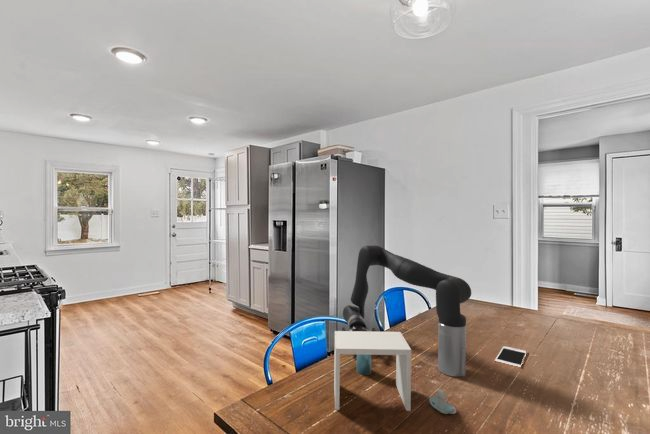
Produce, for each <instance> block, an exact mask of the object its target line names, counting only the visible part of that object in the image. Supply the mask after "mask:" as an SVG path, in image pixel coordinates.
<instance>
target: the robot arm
mask: <svg viewBox="0 0 650 434" xmlns="http://www.w3.org/2000/svg"><path fill="white" fill-rule="evenodd" d="M371 266H380V267H384V268H385V269H386V268H387V269H388V270H390V271H391V272H392V274H393V275H394V276H395V278H397V279H399V280H401V281H403V282H405V283H407V284H409V285H413V286H415V287H422V288H427V289H431V290H434V291H435V306H436V311H435V312H436V315H437V318H438V334H437V335H438V339H437V340H438V343H437V344H438V345H437V347H438V348H437V349H438V350H437V353H438V354H437V369H438V371H439V372H440V373H442V374H443V375H447V376H450V377H466V373H467V370H466V369H467V367H466V366H467V363H466V361H467V349H466V348H467V344H466V341H467V317H466V316H465V315H464V314H462V313H461V304H463V303H465V302H467V301H468V300H469V299H470V298H471V296H472V289H471V287H470V284H469V283H468V282H466V281H465V280H464V279H463V278H460V277H457V276H454V275H449V274H446V273H443V272H439V271H437V270H435V269H432V268H431V267H428V266H426V265H424V264H421V263H419V262H416V261H414V260H412V259H410V258H406V257H404V256H401V255H397V254H395V253H393V252H391V251H389V250H387V249H385V248H383V247H382V246H380V245H377V244H375V245H364V246H362V247H361V248H360V249H359V252H358V257H357V265H356V273H355V280H354V281H355V282H354V286H353V290H352V293H351V296H350V303H351V304H353V305H354V306H353V305H350V304H349V305H345V307H344V308H343V310H342V318H343V319H344V321H345V322H346V323H347V327H348V329H346V328H345V327H341V331H372V332H378V331H377V330H376V328H375V327H372V328H371V329H369V328H367V325H366V322H365V316H366V315H365V304H366V300H367V296H368V293H369V283H368V278H367V277H368V275H367V274H368V270H369V268H370V267H371Z"/></svg>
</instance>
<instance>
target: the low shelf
mask: <svg viewBox="0 0 650 434" xmlns="http://www.w3.org/2000/svg"><path fill="white" fill-rule="evenodd" d="M341 355H356V356H357V355H371V356H373V355H374V356H378V355H379V356H396V357H395V359H396V362H395V364H396V365H395V370H396V371H395V387H396V388H397V391H398V393H399V396H400V398H401V401H402V404H403V405H404V408H405V411H406V412H411V409H412V407H411V406H412V405H411V404H412V401H411V399H412V398H411V397H412V348H411V347H410V345H409V344H408V342H407V340H406V339H405V337H404V335H403V334H402V332H401V331H377V332H372V331H342V330H334V355H333V356H334V357H333V359H334V364H333V365H334V367H333V368H334V369H333V372H334V374H333V375H334V376H333V377H334V378H333V385H334V386H333V389H334V410H335V411H339V410H340V390H341V388H340V386H341V385H340V384H341V383H340V379H341V378H340V376H341V375H340V374H341V373H340V372H341V371H340V368H341Z"/></svg>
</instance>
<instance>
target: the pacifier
mask: <svg viewBox="0 0 650 434" xmlns="http://www.w3.org/2000/svg"><path fill="white" fill-rule="evenodd" d="M429 404H430V405H431V407H433V408H434V409H436V410H437V411H438V412H439V411H440V412H439V413H442V414H443V415H444V414H445V415H448V414H449V415H450V414H451V415H455V414H456V413H457V409H456V408H455V407H454V406H453V405H452V404H450V403H448V402H447V395H446V393H445V392H444V391H443V390H442V389H440V388H438V389H437V390H436V396H435V395H434V396H433V395H432V396H431V397H430V398H429Z"/></svg>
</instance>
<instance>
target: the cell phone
mask: <svg viewBox="0 0 650 434" xmlns="http://www.w3.org/2000/svg"><path fill="white" fill-rule="evenodd" d="M526 351H527V350H525V349H524V350H523V349H519V348H514V347H511V346H510V347H509V346H502V348H501V349H500V351H499V353H498V354H497V356H496V358H495V359H494V362H495V361H496V362H495V363H497V362H501V363H505V364H509V365H513V366H518V367H521V365H522V364H523V365H524V363H522V362H523V360H522V359H524V357H525V356H526ZM526 357H527V356H526ZM501 363H500V364H501ZM505 364H504V365H505ZM509 365H508V366H509ZM513 366H512V367H513Z"/></svg>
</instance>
